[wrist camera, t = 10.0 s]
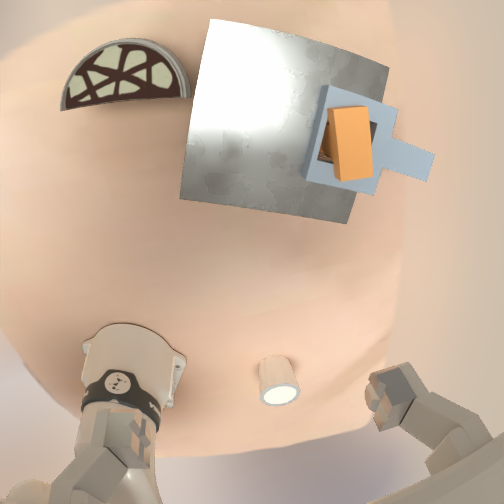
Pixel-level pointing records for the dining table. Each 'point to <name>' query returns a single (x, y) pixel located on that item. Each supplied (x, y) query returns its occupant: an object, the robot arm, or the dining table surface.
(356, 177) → the orange t-shaped block
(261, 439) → the dining table surface
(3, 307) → the dining table surface
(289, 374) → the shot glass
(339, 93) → the bracket
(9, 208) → the dining table surface
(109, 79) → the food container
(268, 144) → the metal plate
